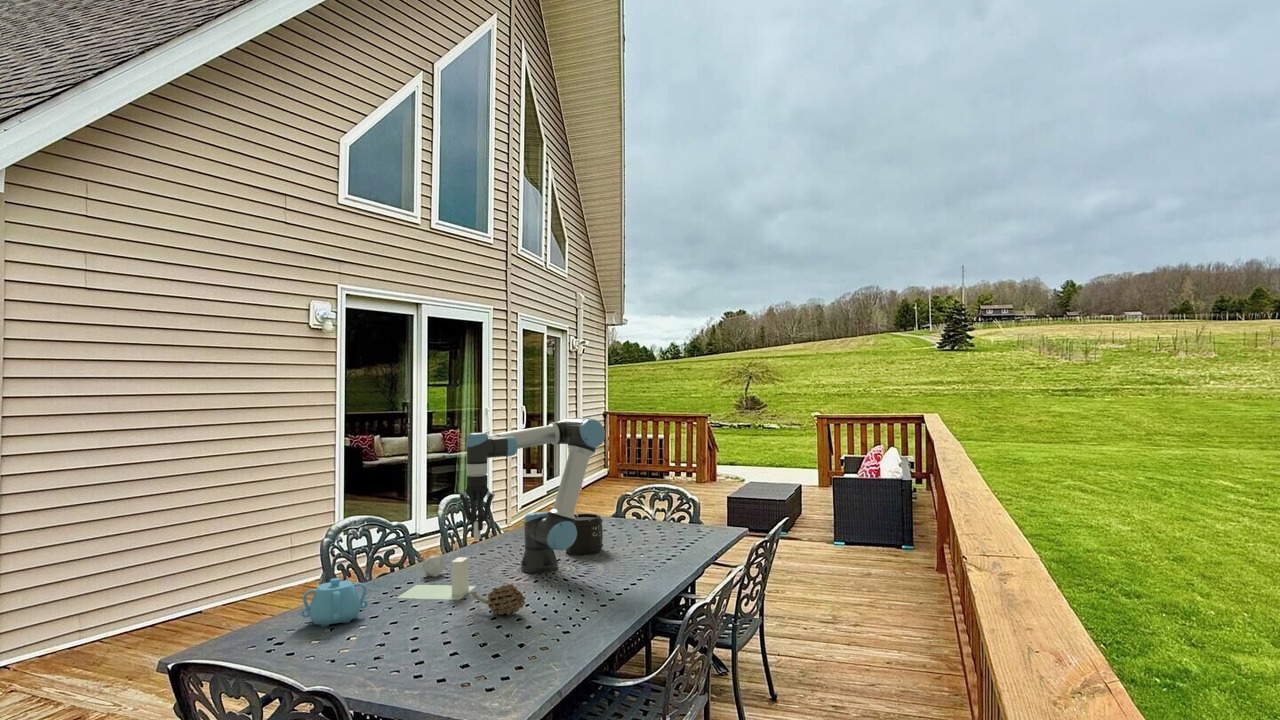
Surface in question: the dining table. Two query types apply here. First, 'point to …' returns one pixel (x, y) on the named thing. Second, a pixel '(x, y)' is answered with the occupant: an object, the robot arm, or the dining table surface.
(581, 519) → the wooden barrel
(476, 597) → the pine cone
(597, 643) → the dining table surface
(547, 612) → the dining table surface
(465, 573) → the beige rectangular block
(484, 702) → the dining table surface
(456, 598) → the green mat
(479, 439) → the robot arm
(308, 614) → the decorative pot
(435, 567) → the die
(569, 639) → the dining table surface
